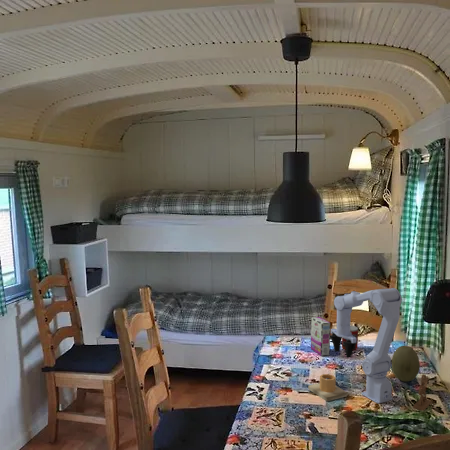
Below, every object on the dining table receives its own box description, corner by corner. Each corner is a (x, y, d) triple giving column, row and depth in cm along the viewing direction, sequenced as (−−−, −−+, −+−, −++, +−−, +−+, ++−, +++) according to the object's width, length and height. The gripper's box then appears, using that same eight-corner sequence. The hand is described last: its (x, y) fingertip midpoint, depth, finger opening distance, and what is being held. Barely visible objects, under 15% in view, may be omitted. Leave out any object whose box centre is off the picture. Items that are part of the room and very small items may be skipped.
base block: (347, 396, 190) (347, 392, 190) (326, 401, 185) (326, 397, 185) (328, 384, 200) (328, 381, 200) (308, 389, 196) (308, 385, 196)
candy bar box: (330, 355, 233) (331, 322, 232) (321, 356, 232) (321, 323, 230) (319, 347, 244) (319, 316, 242) (310, 349, 242) (310, 317, 241)
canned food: (340, 350, 240) (340, 328, 239) (344, 345, 247) (344, 324, 246) (355, 352, 237) (356, 331, 236) (359, 347, 244) (359, 326, 243)
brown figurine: (423, 411, 177) (424, 379, 176) (412, 407, 180) (413, 377, 179) (431, 402, 184) (433, 372, 183) (421, 399, 187) (422, 369, 185)
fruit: (421, 387, 198) (422, 351, 196) (393, 384, 200) (394, 350, 199) (416, 375, 209) (417, 342, 207) (389, 374, 211) (390, 340, 210)
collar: (337, 388, 193) (337, 376, 193) (330, 393, 189) (330, 381, 188) (324, 384, 197) (324, 372, 196) (317, 389, 192) (317, 377, 192)
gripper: (362, 326, 200) (361, 358, 202) (339, 317, 213) (339, 347, 215) (349, 329, 197) (348, 361, 199) (327, 319, 210) (326, 349, 212)
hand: (342, 354), depth 206 cm, fingers open, 7 cm apart
